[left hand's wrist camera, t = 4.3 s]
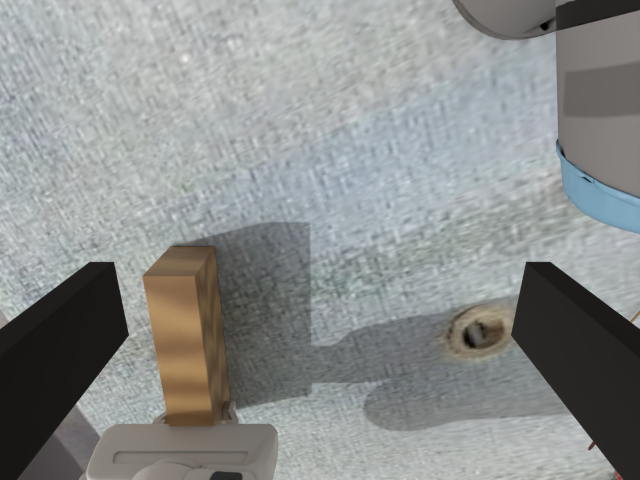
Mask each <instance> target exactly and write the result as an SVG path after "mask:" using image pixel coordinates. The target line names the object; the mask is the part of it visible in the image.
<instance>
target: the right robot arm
mask: <svg viewBox="0 0 640 480" xmlns="http://www.w3.org/2000/svg"><path fill="white" fill-rule="evenodd" d="M223 404H224V405H223V407H222V418H223V420H227V422H226V424H215V425H214V426H169V422H168V417H167V411H165V412H164V413H163V414H161V415H160V416H158V417H157V418H156V419H155V420H154V422H153V423H152V424H115V425H113V426H112V427H110V428H109V429H107V430H106V431H105V432H104V433H103V435H102V436H101V438H100V440H99V442H98V444H97V446H96V448H95V450H94V452H93V454H92V457H91V459H90V462H89V464H88V467H87V471H86V472H85V473H84V474H83V475H82V476H81V477H80V479H79V480H272V479H273V476H274V471H275V467H276V462H277V456H278V433H277V430H276V429H275V428H274V427H273V425H271V424H239V420H238V417H237V415H236V414H235V413H236V401H224V403H223Z"/></svg>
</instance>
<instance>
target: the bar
mask: <svg viewBox="0 0 640 480" xmlns="http://www.w3.org/2000/svg"><path fill="white" fill-rule="evenodd" d="M142 277H143V283H144V288H145V294H146V299H147V305H148V311H149V316H150V322H151V327H152V333H153V339H154V344H155V350H156V355H157V361H158V366H159V372H160V378H161V383H162V389H163V394H164V400H165V406H166V411H167V417H168V422H169V426H214V425H215V424H226V422H227V420H223V418H222V407H223V405H224V404H223V403H224V401H231V400H230V390H229V381H228V371H227V361H226V351H225V342H224V332H223V322H222V312H221V303H220V293H219V283H218V274H217V264H216V254H215V247H170V248H169V249H168V250H167V251H166V252H165V253H164V254H163V255H162V256H161V257H160V258H159V259H158V260H157V261H156V262H155V263H154V264H153V265H152V266H151V268H150V269H149V270H148V271H147V272H146V273H145V274H144V275H143V276H142Z"/></svg>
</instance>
